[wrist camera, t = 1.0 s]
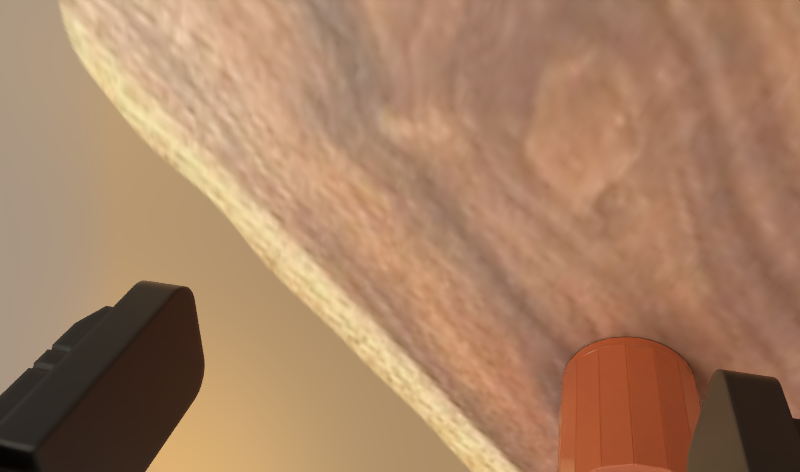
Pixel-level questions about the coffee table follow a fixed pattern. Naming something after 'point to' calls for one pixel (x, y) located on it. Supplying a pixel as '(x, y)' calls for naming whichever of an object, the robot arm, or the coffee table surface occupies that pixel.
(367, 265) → the coffee table surface
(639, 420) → the pot
